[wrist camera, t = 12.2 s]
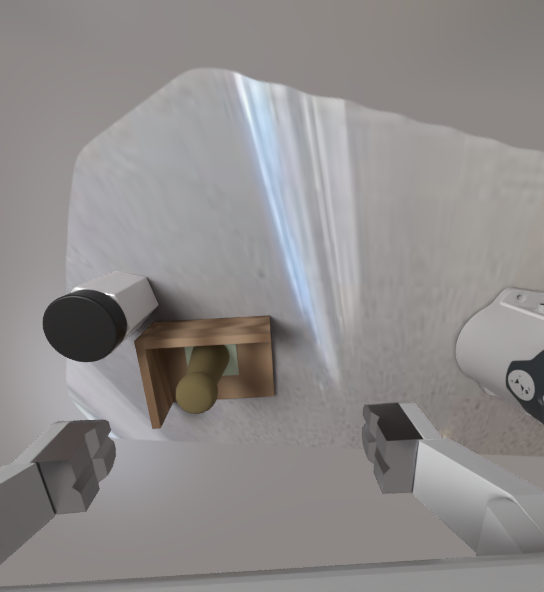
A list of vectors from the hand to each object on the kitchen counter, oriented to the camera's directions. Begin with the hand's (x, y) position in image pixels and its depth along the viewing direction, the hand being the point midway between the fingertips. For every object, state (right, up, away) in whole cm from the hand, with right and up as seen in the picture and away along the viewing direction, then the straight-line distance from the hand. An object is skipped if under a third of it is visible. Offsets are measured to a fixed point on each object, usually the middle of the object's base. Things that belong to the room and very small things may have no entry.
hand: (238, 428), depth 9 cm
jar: (-20, +4, +34) cm, 40 cm away
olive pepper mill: (-9, -5, +36) cm, 37 cm away
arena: (-8, -6, +37) cm, 38 cm away
